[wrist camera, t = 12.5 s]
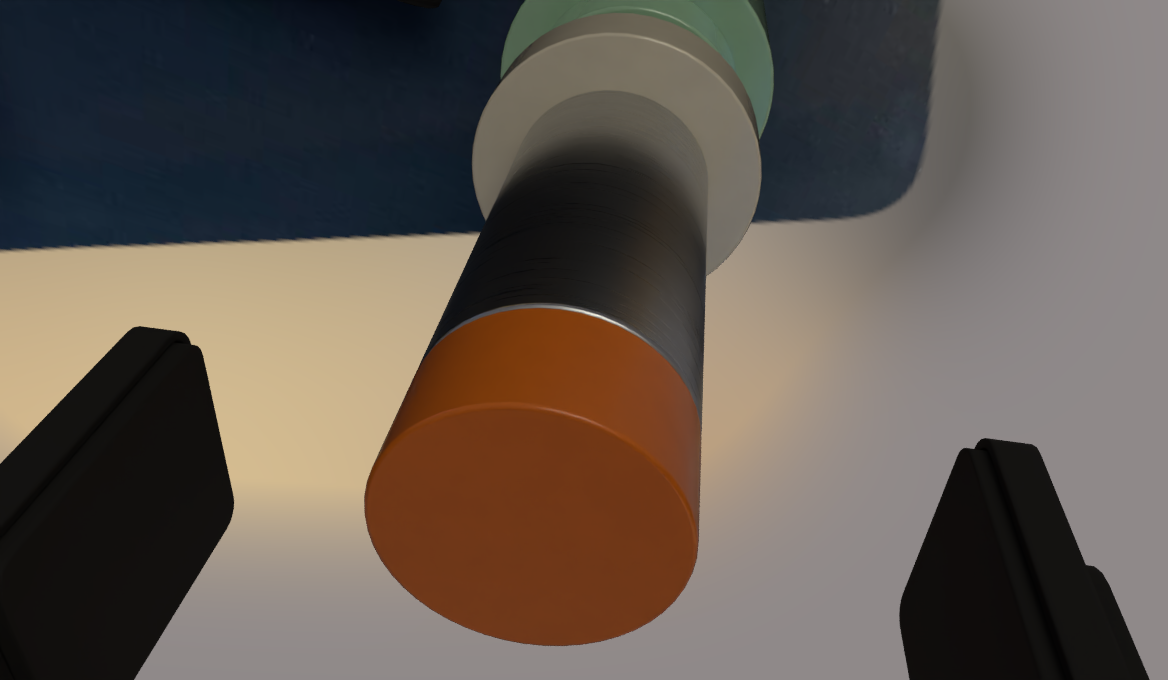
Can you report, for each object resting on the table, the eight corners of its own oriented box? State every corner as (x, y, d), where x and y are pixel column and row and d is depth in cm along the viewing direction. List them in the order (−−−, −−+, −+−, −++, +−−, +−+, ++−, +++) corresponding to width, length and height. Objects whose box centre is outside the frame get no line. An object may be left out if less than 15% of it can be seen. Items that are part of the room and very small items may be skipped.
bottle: (774, -119, 31) (819, 25, 17) (741, 83, 35) (755, 340, 21) (569, -137, 32) (443, -13, 17) (559, 64, 36) (450, 303, 21)
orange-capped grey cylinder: (722, 99, 18) (722, 431, 10) (694, 277, 20) (677, 668, 12) (517, 78, 18) (349, 382, 10) (513, 256, 20) (373, 624, 12)
